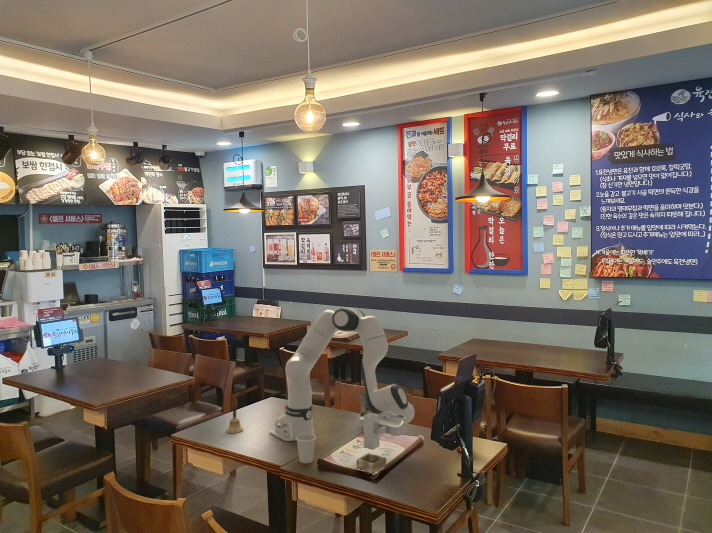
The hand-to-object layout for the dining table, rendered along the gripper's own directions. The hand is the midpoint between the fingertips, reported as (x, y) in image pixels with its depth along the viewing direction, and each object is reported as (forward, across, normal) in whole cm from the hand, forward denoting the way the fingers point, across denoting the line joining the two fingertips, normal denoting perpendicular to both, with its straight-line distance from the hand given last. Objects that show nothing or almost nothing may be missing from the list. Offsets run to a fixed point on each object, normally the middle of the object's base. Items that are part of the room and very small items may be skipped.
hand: (370, 430), depth 208 cm
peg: (-1, 0, +7) cm, 7 cm away
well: (-1, 0, +16) cm, 16 cm away
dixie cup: (+8, -27, +16) cm, 33 cm away
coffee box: (-44, -31, +17) cm, 56 cm away
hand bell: (+2, -79, +16) cm, 81 cm away
